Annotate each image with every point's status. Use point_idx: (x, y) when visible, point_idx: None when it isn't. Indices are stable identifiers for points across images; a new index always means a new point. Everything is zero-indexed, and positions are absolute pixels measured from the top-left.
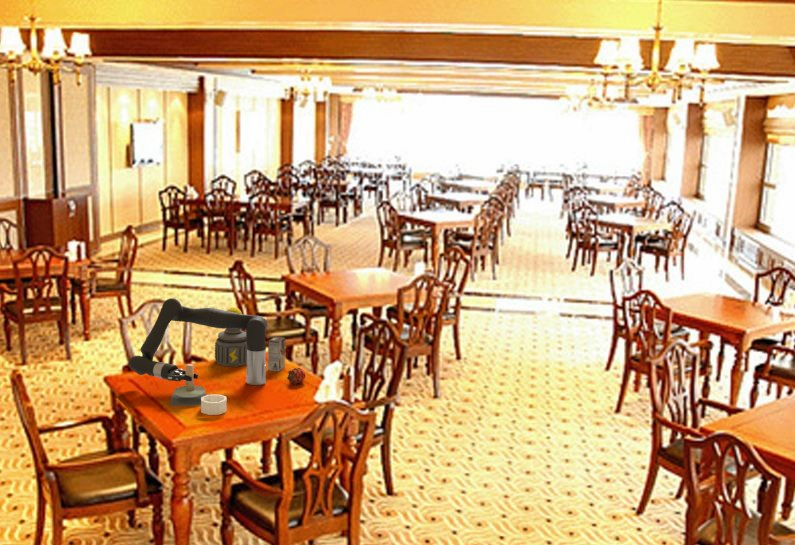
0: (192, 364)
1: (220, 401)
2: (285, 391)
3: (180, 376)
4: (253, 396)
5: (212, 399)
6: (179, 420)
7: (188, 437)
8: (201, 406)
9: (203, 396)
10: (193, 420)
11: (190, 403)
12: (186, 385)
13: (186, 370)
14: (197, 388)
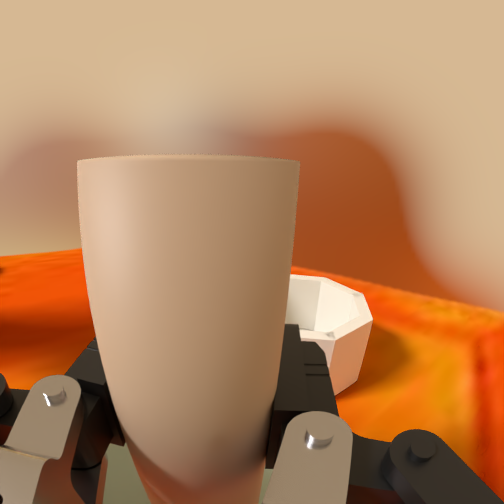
0: (107, 157)
1: (310, 278)
2: (13, 277)
3: (410, 434)
4: (52, 316)
5: None
6: (475, 385)
7: (486, 308)
8: (365, 347)
9: (315, 338)
10: (428, 359)
11: None
12: (258, 499)
13: (286, 290)
14: (121, 471)
